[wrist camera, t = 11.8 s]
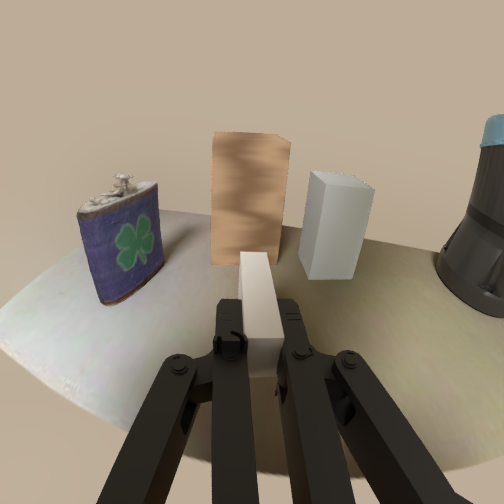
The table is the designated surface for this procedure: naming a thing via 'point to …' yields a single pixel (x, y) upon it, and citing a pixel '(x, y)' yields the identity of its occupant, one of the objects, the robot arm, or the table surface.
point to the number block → (334, 225)
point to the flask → (122, 238)
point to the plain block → (247, 195)
